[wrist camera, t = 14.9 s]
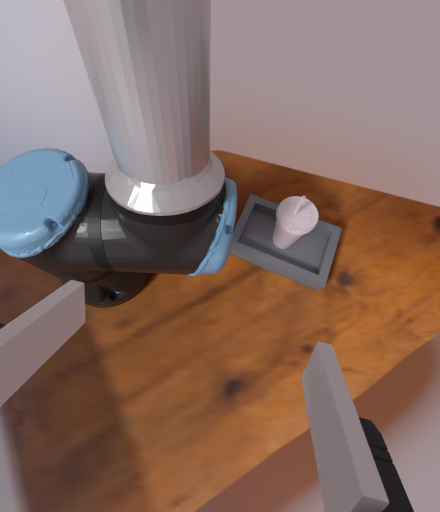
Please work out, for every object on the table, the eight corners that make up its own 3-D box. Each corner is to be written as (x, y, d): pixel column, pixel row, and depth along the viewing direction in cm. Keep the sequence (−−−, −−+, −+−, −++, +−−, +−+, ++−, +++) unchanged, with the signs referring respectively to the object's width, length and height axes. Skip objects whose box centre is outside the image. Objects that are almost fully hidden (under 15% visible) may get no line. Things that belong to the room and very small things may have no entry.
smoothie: (262, 227, 49) (279, 180, 36) (294, 222, 50) (323, 175, 37) (269, 258, 47) (291, 220, 34) (303, 253, 47) (337, 213, 34)
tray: (225, 252, 48) (226, 245, 45) (248, 202, 52) (250, 193, 49) (318, 290, 46) (325, 286, 43) (334, 235, 50) (342, 228, 47)
